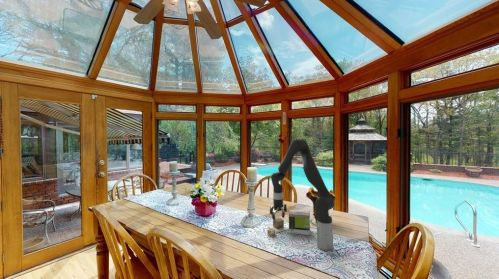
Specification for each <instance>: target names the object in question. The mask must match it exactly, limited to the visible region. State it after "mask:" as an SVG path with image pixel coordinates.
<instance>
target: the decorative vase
mask: <svg viewBox="0 0 499 279" xmlns="http://www.w3.org/2000/svg"><path fill="white" fill-rule="evenodd" d="M328 191H329V193H330V194H331V196H332V198H333V200H334V201H335V200H336V195H335V193H334V190H333V189H329V190H328ZM305 197H306V198H308V199H309V200H310V201H311V202H312V209H313V210H312V211H313V214H312V216H313V217H312V218H310V225H313V226H316V227H317V217H316V208H315V203H316V200H317V198H319V197H320V195H319V193H318V191H317V190H315V187H314V186H312V187H309V188H308V192H306V193H305Z"/></svg>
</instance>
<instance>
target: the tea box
mask: <svg viewBox="0 0 499 279" xmlns="http://www.w3.org/2000/svg"><path fill="white" fill-rule="evenodd" d="M310 215H311V213H310V210H299V209H298V210H297V209H289V212H288V228H289V230H288V233H289V234H292V235H293V234H294V235H295V234H297V235H305V236H310V235H311V234H310V233H311V223H310V220H311V218H310V217H311V216H310Z"/></svg>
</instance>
